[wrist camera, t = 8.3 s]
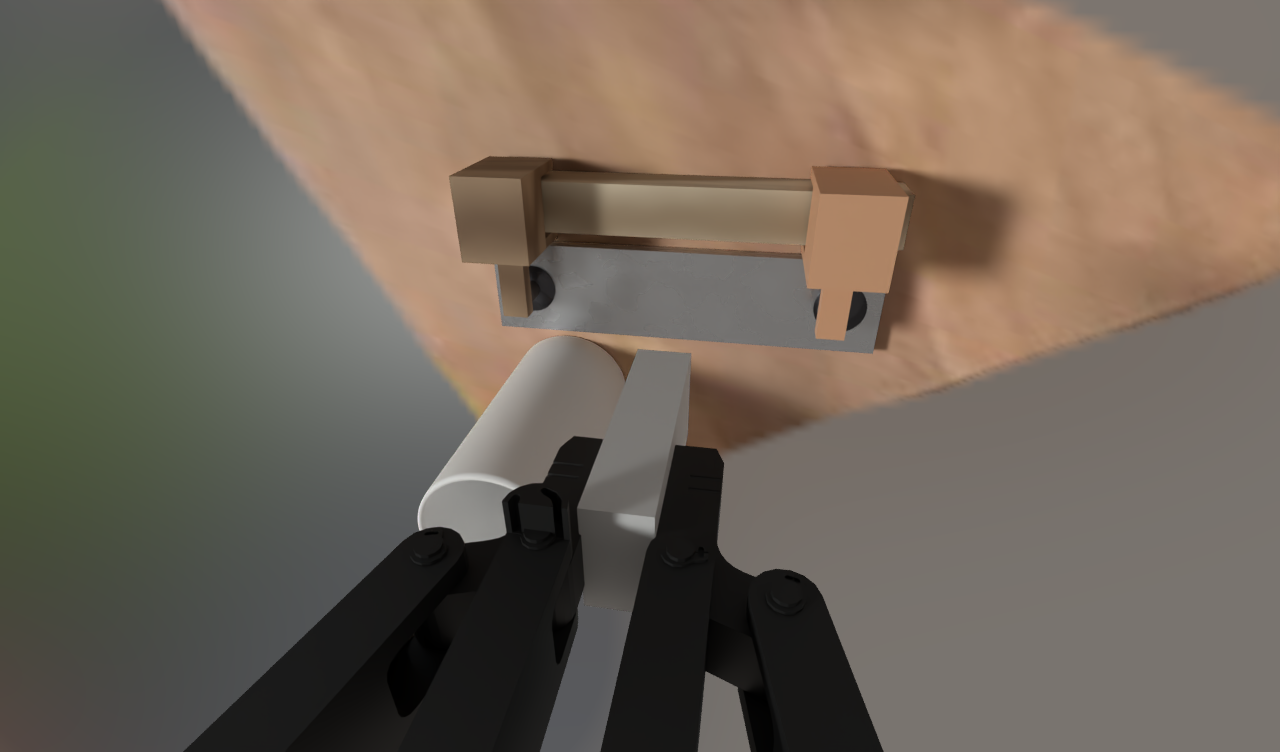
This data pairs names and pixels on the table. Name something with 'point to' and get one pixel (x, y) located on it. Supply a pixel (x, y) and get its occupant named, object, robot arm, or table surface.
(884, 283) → the block
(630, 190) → the beam
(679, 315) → the bolt strip
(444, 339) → the table surface
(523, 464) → the cup
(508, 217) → the fixed leg
